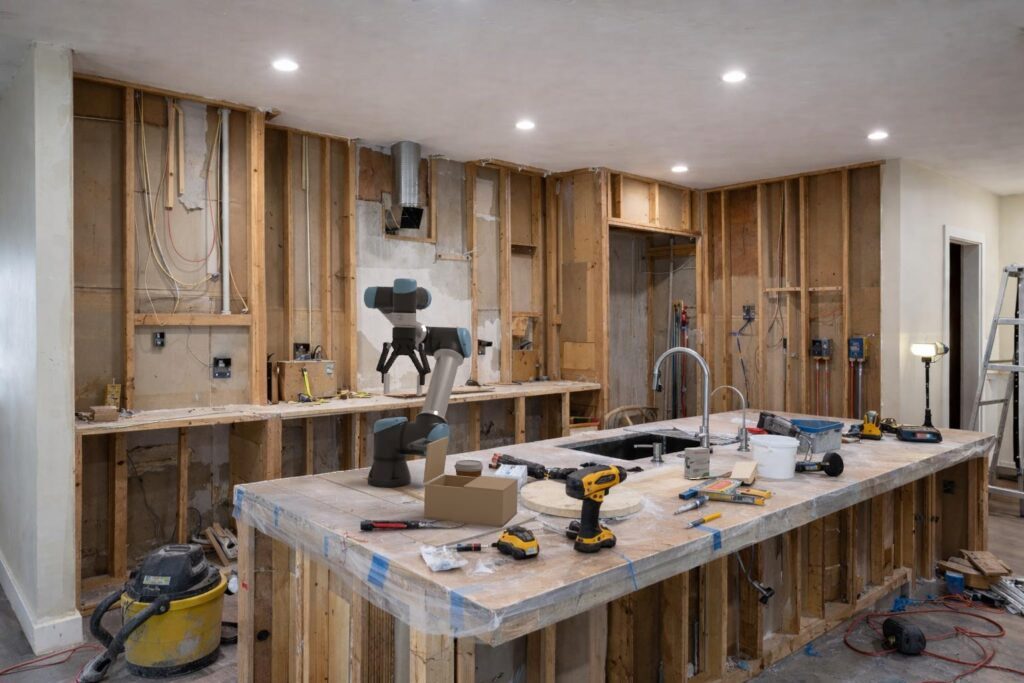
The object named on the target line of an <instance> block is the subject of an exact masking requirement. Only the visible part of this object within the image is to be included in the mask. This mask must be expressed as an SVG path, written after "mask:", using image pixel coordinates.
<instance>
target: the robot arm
mask: <svg viewBox="0 0 1024 683" xmlns="http://www.w3.org/2000/svg"><path fill="white" fill-rule="evenodd" d="M363 302H364V305H365V307H366V308H368V309H372V310H375V309H377V310H378V311H379V312H380V313H381V314H382V315H383V316H384V317H385V318H386V319H387V321H389V322H390V323H391V325H393V327H392V329H391V331H392V333H391V334H392V335H391V336H392V337H391V338H392V341H391V342H389V341H386V342H385V341H384V342H383V343H382V351H381V354H380V355H379V356H380V357H379V359H378V363H377V365H376V368H375V371H376V372H379V373H380V375H381V381H380V382H381V384H383V395H388V394H390V388H391V387H390V384H391V383H390V380H391V378H390V377H391V374H390V373H389V371H390V369H391V367H392V366H393V365H394V363H395V361H396V360H397V358H398V357H399V356H408V357H409V359H410V361H411V362H412V364H413V366H414V367H415V370H416V371H417V373H418V374H417V375H416V396H417V397H420V396H423V386H425V384H426V375H427V374H431V372H432V374H431V376H430V381H429V384H428V388H427V391H426V395H425V398H424V403H423V406H422V410H421V412H419V413H417V414H416V415H415V418H414V421H409V420H408V418H407V417H406V416H397V417H396V416H394V417H386V418H382V419H381V418H380V419H378V420H376V421H375V423H374V425H373V426H374V427H373V451H372V452H373V455H372V456H373V458H372V460H373V461H372V464H371V467H370V470H369V472H368V476H367V483H368V485H370V486H374V487H378V488H380V487H381V488H396V487H403V486H407V485H410V484H411V482H412V481H411V480H412V477H411V472H410V468H409V466H408V462H407V455H408V456H418V457H426V453H427V451H422V450H417V449H411V450H410V449H408V448H407V444H408V443H410V442H413V441H416V440H419V439H422V438H426V439H427V440H432V441H437V440H439V439H442V438H444V437H448V444H447V448H448V447H449V444H450V440H451V439H450V436H451V429H450V426H449V425H448V422H447V420H446V413H447V410H448V406H449V403H450V399H451V395H452V391H453V388H454V384H455V381H456V380H455V379H456V376H457V372H458V369H459V367H460V366H462V365H463V364H464V361H465V359H469V358H470V357H471V355H472V351H473V350H472V349H473V342H472V337H471V336H472V335H471V333H470V331H469V329H468V328H466V327H460V326H456V327H452V326H451V327H449V326H428V325H427V326H426V325H424V324H423V323H422V322H419V321H417V311H418V310H419V311H422V310H425V309H427V308H429V307H430V305H431V303H432V293H431V292H430V290H428V289H427V288H424V287H423V286H418V282H417V280H416V279H415V278H405V277H404V278H401V277H400V278H395V279H394V281H393V286H378V285H376V286H368V287H367V288H365V290H364V294H363ZM391 348H392V349H393V350H392V352H391V354H390V356H389V358H388V355H389V353H390V349H391ZM415 351H416V352H418V356H419V357H420V360H419V358H418V356H417V354H416V352H415ZM427 356H428V357H433V358H434V360H435V363H434V366H433V371H432V370H431V367H430V363H429V359H428V357H427ZM387 358H388V359H387ZM420 361H421V362H420ZM422 446H427V444H424V445H422Z"/></svg>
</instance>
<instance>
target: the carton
mask: <svg viewBox="0 0 1024 683" xmlns="http://www.w3.org/2000/svg"><path fill="white" fill-rule="evenodd" d="M518 486H519V479H518V478H510V477H509V478H507V477H498V476H488V475H486V476H485V475H481V476H479V477H468V476H457V475H456V474H454V475H453V474H446V473H444V474H442V475H440V476H438V477H436V478H434V479H433V480H431V481H429V482H427V483H424V497H423V498H424V505H423V506H424V507H423V508H424V509H423V519H426V520H434V521H443V522H452V523H461V524H468V525H469V524H471V525H478V526H487V527H488V526H489V527H496V528H503V527H504V526H505V525H507V524H508V522H510V521H511V520H512V519H513V518H514V517H515V516H517V514H518V489H519V488H518Z"/></svg>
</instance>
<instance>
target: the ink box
mask: <svg viewBox="0 0 1024 683" xmlns="http://www.w3.org/2000/svg"><path fill="white" fill-rule="evenodd" d="M710 451H711V450H710V448H707V447H704V446H703V447H701V446H700V447H686V448H685V447H684V468H683V470H684V473H683V475H684V476H683V478H684V477H687V478H697V477H705V476H709V477H710V465H711V464H710V462H711V461H710V460H711V459H710V457H711V456H710V455H711V452H710ZM687 478H686V479H687Z"/></svg>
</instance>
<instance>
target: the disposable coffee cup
mask: <svg viewBox="0 0 1024 683" xmlns="http://www.w3.org/2000/svg"><path fill="white" fill-rule="evenodd" d="M454 469H455V475H457V476H468V477H479V476H482V471H483V469H484V465H483V462H482V461H481V460H476V459H475V460H474V459H462V460H457V461H455V465H454Z"/></svg>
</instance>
